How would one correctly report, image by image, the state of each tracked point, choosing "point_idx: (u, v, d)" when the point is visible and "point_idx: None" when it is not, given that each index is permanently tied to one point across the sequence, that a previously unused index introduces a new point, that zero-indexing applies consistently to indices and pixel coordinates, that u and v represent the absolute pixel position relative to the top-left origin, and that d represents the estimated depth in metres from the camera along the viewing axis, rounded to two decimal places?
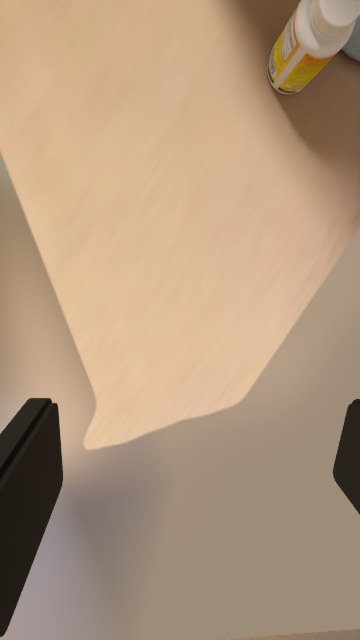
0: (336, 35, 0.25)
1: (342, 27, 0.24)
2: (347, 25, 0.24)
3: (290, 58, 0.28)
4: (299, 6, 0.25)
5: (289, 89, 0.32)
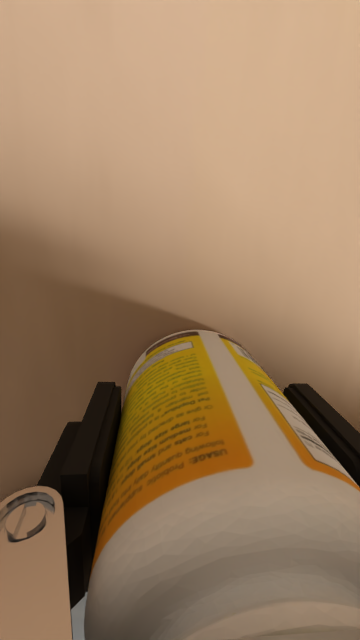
0: None
1: None
2: None
3: (264, 402, 0.06)
4: None
5: (167, 345, 0.10)
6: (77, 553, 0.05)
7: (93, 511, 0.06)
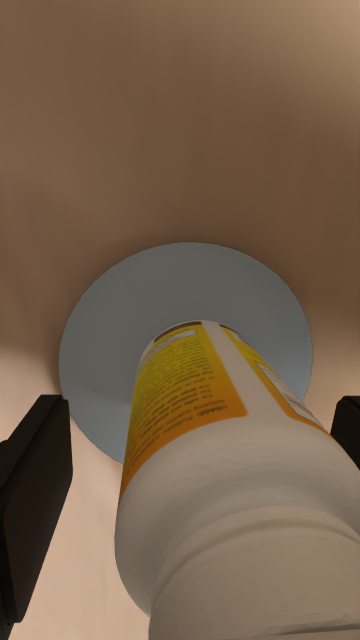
0: (191, 563, 0.04)
1: None
2: None
3: (258, 374, 0.08)
4: None
5: (174, 333, 0.11)
6: None
7: None
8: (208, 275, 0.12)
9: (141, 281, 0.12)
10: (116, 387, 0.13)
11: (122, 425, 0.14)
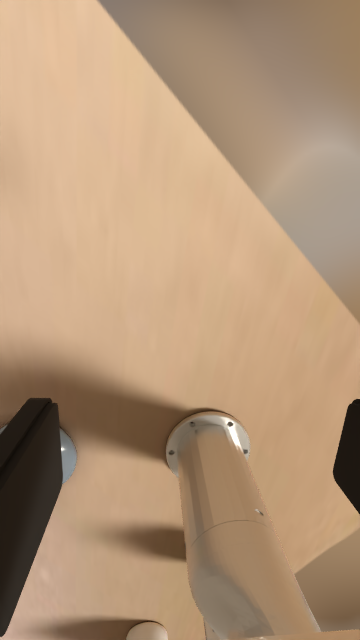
0: None
1: None
2: None
3: None
4: None
5: None
6: None
7: None
8: None
9: None
10: None
11: None
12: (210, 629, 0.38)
